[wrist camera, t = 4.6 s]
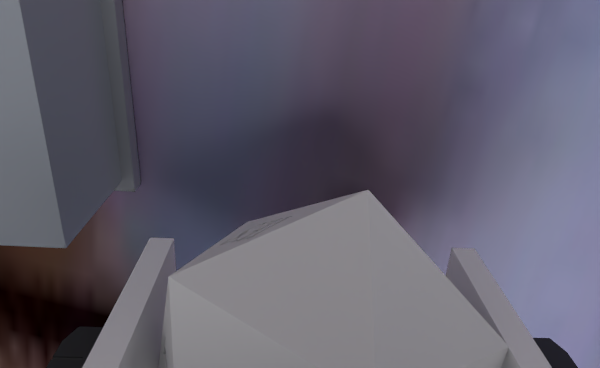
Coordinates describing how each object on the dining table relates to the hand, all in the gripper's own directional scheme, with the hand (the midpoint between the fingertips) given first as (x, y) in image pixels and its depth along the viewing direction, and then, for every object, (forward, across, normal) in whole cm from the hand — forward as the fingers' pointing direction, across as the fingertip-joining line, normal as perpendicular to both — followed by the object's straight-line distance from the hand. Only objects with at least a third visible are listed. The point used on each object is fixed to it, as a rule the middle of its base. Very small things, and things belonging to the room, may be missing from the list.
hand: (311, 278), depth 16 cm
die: (+1, 0, 0) cm, 1 cm away
